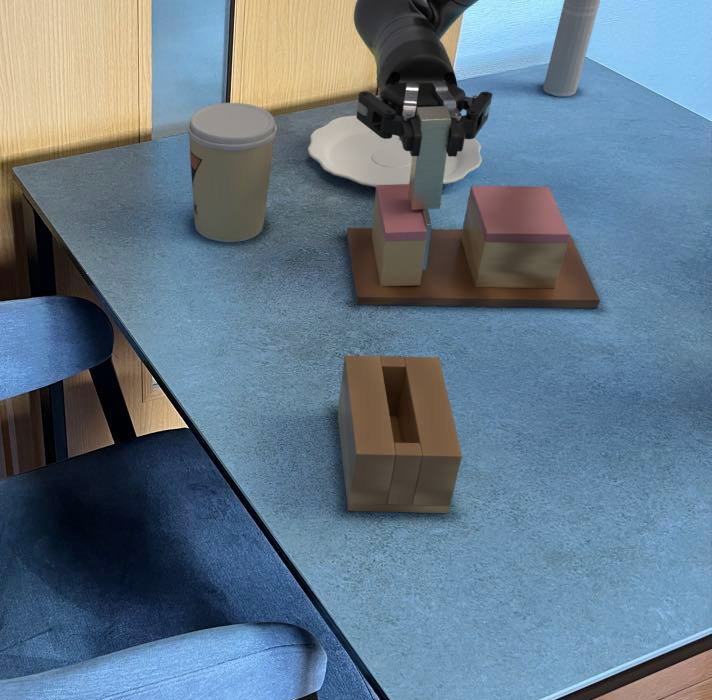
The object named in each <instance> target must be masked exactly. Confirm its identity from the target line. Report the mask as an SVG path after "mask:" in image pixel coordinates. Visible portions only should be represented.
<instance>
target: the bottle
mask: <svg viewBox="0 0 712 700" xmlns="http://www.w3.org/2000/svg"><path fill="white" fill-rule="evenodd" d="M600 2H601V0H564V1H563V4H562V9H561V13H560V17H559V21H558V26H557V30H556V33H555V37H554V42H553V46H552V51H551V55H550V59H549V63H548V67H547V72H546V74H545V80H544V83H543V91H544V92H545V93H546V94H548V95H551V96H555V97H561V98H562V97H563V98H564V97H565V98H566V97H571V96H573V95H574V96H575V94H576V93H577V90H578V88H579V87H578V86H579V83H580V79H581V75H582V71H583V68H584V65H585V60H586V56H587V52H588V48H589V44H590V41H591V37H592V34H593V29H594V26H595V21H596V17H597V15H598V10H599V6H600Z"/></svg>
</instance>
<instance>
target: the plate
mask: <svg viewBox="0 0 712 700" xmlns="http://www.w3.org/2000/svg"><path fill="white" fill-rule="evenodd" d="M356 116H357V114H355V115H347V116H340V117H337V118H334V119H332V120H330V121H329V122H328V123H326V124H325V125H323V126H322V127H319V128H317V129H315V130H313V132H312V133H311V134H310V135H309V136H310V137H309V138H310V144H309V145H308V146H307V153H308V155H309V157H310V158H312V159H313V160H315V161H316V162H317V163H319V165H320V167H321V168H322V169H323V171H325V172H327V173H329V174H331V175H332V176H335V177H339V178H343V179H347V180H351V181H352V182H354V183H357V184H359V185H362V186H367V187H371V188H372V187H373V188H376V185H396V184H409V181H410V172H411V162H412V156H411V154H410V151H405V150H404V149H403V145H402V141H400V140H399V136H397V135H392V138H390V139H384V138H381V137H380V136H378V135H377V134H376V133H375V132H373V131H372V130H371V129H369V128H368V127H367V126H366V125H364V124H363V123H362V122H361V121H359V120H358V119H357V118H356ZM481 148H482V145H481V144H480V142H479V141H478V140H477V138H474V139H465V140H464V145H463V150H462V151H457V156H456V157H448V154H447V156H446V164H445V171H444V179H443V185H447V184H453V183H456V182H458V181H461V180H463V179H464V178H465V177H466V176H467V175H468V174H469V173H470V172H473V171H474V170H476V169H478V168H479V167H480V166H481V164H482V162H483V158H482V155H481V153H480V152H481Z"/></svg>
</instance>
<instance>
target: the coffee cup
mask: <svg viewBox="0 0 712 700" xmlns="http://www.w3.org/2000/svg"><path fill="white" fill-rule="evenodd" d="M277 126H278V125H277V123H276V121H275V118H274V116H273V115H272V113H270V111H268V110H266V109H265V108H262V107H260V106H257V105H253V104H249V103H241V102H222V103H214V104H211V105H207V106H204V107H201V108H199V109H198V110H196V111H195V112H194V113H193V114H192V116H191V117H190V119H189V122H188V123H187V135H188V138H189V139H188V140H189V158H190V173H191V174H190V175H191V188H192V189H191V191H192V203H193V205H192V206H193V218H194V225H195V229H196V231H197V232H198V234H200V235H201V236H202V237H204V238H206V239H208V240H211V241H215V242H221V243H240V242H244V241H248V240H251V239H253V238H255V237H256V236H258V235H259V234H260V233H261V232H262V230H263V228H264V224H265V223H264V222H265V216H266V209H267V202H268V195H269V186H270V179H271V171H272V163H273V155H274V146H275V137H276V135H277V129H278V128H277Z"/></svg>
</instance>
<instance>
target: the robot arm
mask: <svg viewBox="0 0 712 700" xmlns="http://www.w3.org/2000/svg"><path fill="white" fill-rule="evenodd" d="M477 2H479V0H356V2H355V5H354V10H353V23H354V27H355V30H356V31H357V33H358V36H359V37H360V39H361V40H362V42H363V43H364V45H365V46H366V47H367V49H368V50H369V51H370V53H371V55H373V57H374V62H375V65H376V85H377V87H378V89H379V93H380V95H378V94H376V95H375V94H373V93H372V92H370V91H366V90H365V91H360V92H359V93H358V99H357V109H356V115H357V116H356V118H357V119H358V120H359V121H361V122H362V123H363V124H364V125H366V126H367V127H368V128H369V129H371V130H372V131H373V132H375V133H376V134H377V135H378V136H380V137H381V138H384V139H390V138H392V135H397V136H399V140H400V141H402V145H403V149H404V150H405V151H410V154H411V156H419V154H420V148H421V141H422V132H421V129H420V127H419V124H418V120H417V119H416V113H417V107H437V106H447V109H448V112H449V115H450V118H451V124H450V132H449V140H448V147H447V154H448V157H456V156H457V151H462V150H463V145H464V140H465V139H476V137H477V135H478V134H479V132H480V131H481V129H482V128H483V127H484V125H485V124H486V122H487V121H488V119H489V114H490V109H491V104H492V99H493V93H492V92H490V91H481V92H480V93H479V94H478V95H476V94H475V95H472V97H471V96H467V95H466V92H465V90H464V89H462V88H460V87H459V86H458V81H457V76H456V73H455V70H454V68H453V65H452V62H451V60H450V57H449V54H448V52H447V49H446V47H445V46H444V43H443V42H442V40H441V39H442V38H443V37H444V35H445V34H446V33H447V31H448V30H449V29H450V28H451V26H452V25H454V23H455V22H456V21H457V20H458V19H459V18H460V17H461V16H462V14H463V13H465V12H466V11H467V10H468V9H469V8H470V7H472V6H473V5H474V4H476V3H477ZM463 110H464V111H466V112H465V114H464V115H462V113H461V112H462V111H463Z"/></svg>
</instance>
